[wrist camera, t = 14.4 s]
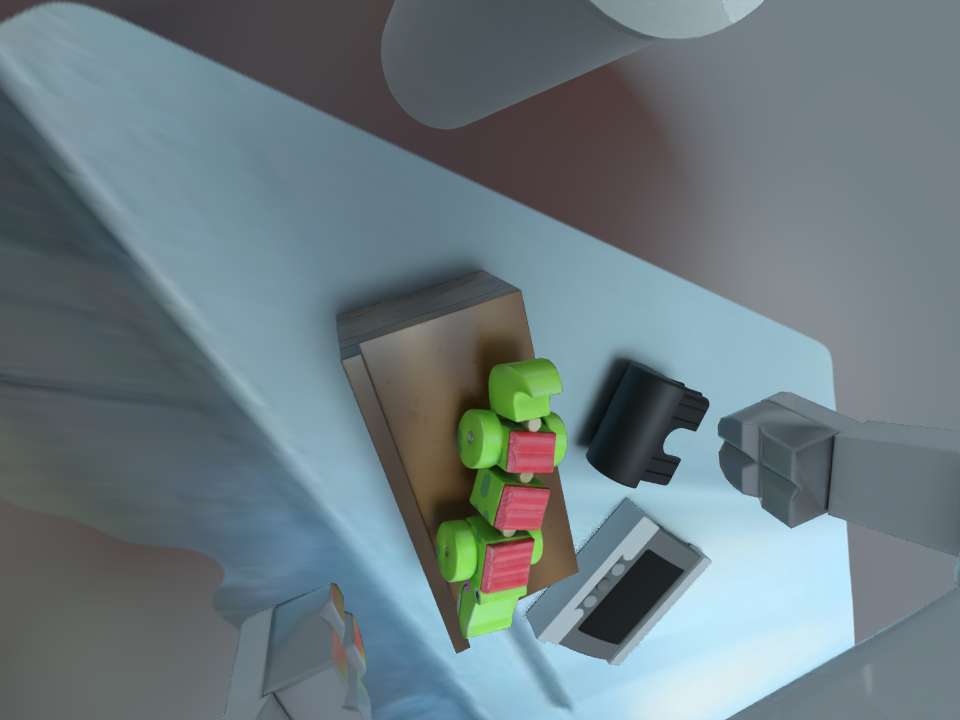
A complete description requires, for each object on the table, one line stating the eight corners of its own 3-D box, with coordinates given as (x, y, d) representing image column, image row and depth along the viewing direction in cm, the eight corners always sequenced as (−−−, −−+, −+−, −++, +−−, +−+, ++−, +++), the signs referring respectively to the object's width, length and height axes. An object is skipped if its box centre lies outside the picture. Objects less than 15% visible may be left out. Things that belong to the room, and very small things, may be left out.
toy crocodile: (502, 601, 36) (544, 662, 31) (420, 613, 33) (451, 683, 28) (554, 352, 33) (610, 372, 28) (469, 341, 30) (514, 361, 25)
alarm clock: (644, 516, 48) (731, 579, 54) (620, 491, 52) (703, 552, 58) (536, 639, 49) (633, 687, 55) (522, 605, 53) (613, 653, 59)
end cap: (613, 352, 44) (660, 379, 38) (668, 372, 47) (719, 399, 41) (570, 445, 46) (608, 484, 40) (625, 458, 49) (668, 496, 43)
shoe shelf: (483, 270, 38) (533, 295, 29) (541, 515, 48) (591, 589, 39) (335, 316, 35) (340, 360, 26) (430, 563, 46) (456, 654, 37)
